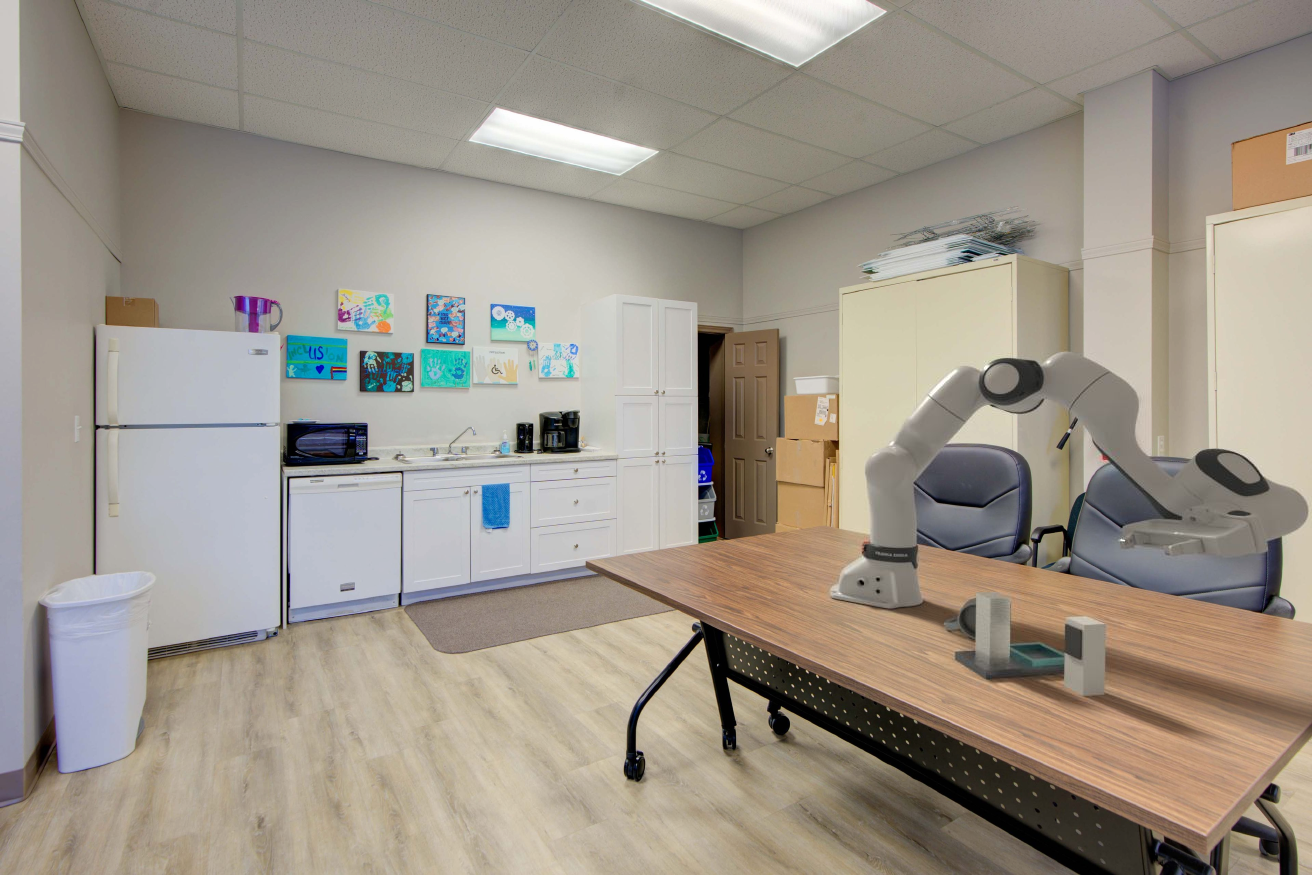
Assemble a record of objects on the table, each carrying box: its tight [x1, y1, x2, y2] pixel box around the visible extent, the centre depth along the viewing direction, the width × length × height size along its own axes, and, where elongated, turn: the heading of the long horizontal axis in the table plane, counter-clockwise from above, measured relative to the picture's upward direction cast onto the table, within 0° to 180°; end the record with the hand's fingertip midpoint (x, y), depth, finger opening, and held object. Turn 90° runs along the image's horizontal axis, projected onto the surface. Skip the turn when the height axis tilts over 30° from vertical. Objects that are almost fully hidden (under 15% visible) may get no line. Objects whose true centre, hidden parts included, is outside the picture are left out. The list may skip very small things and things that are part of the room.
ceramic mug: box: [943, 597, 976, 640], centre depth 134 cm, size 11×8×8 cm
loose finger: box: [1063, 615, 1107, 697], centre depth 106 cm, size 4×4×12 cm
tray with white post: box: [954, 591, 1065, 680], centre depth 116 cm, size 18×9×14 cm, turn 98°
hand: (1143, 547), depth 109 cm, fingers open, 8 cm apart
